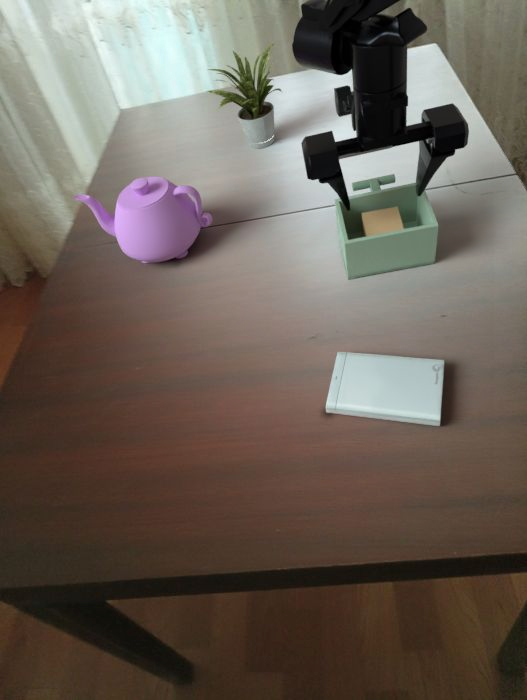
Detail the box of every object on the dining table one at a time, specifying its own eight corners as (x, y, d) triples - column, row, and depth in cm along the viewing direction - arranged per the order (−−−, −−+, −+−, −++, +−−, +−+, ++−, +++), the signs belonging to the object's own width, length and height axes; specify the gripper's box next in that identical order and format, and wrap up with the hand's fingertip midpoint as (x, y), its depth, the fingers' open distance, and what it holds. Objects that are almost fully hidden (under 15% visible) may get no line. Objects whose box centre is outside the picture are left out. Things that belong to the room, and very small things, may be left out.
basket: (334, 220, 77) (330, 183, 72) (413, 204, 76) (415, 165, 70) (347, 279, 70) (344, 243, 65) (434, 263, 69) (439, 225, 63)
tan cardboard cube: (397, 230, 73) (397, 206, 69) (403, 254, 70) (404, 230, 66) (362, 236, 73) (361, 212, 70) (368, 260, 71) (366, 237, 67)
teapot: (98, 281, 82) (59, 222, 73) (116, 227, 91) (84, 168, 81) (214, 265, 78) (189, 200, 69) (222, 210, 87) (201, 146, 78)
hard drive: (445, 358, 57) (337, 349, 61) (440, 420, 52) (324, 406, 56) (444, 367, 58) (338, 357, 62) (439, 428, 54) (326, 413, 58)
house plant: (257, 115, 106) (238, 31, 94) (311, 123, 99) (298, 33, 87) (216, 151, 100) (190, 66, 88) (270, 162, 93) (251, 72, 81)
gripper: (446, 31, 58) (438, 154, 70) (288, 70, 60) (307, 182, 72) (477, 72, 51) (462, 200, 63) (297, 114, 53) (315, 230, 65)
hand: (383, 201), depth 66 cm, fingers open, 9 cm apart
